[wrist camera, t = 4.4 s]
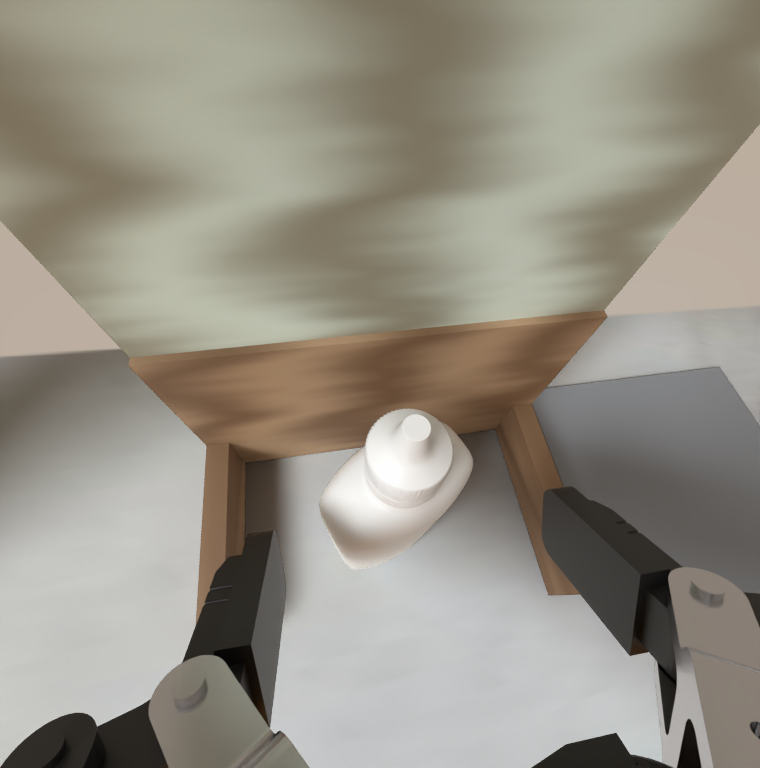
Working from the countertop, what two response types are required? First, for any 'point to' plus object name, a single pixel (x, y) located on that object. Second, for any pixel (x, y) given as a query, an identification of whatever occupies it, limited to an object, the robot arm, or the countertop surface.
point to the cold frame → (360, 202)
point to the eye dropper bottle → (394, 487)
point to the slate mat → (666, 463)
